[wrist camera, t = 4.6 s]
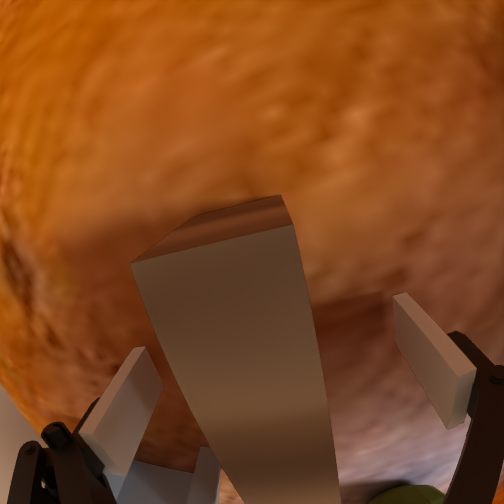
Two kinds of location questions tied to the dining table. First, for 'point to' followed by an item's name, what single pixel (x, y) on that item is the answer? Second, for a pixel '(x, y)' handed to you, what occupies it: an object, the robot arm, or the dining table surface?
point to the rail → (245, 349)
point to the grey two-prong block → (168, 483)
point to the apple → (410, 495)
